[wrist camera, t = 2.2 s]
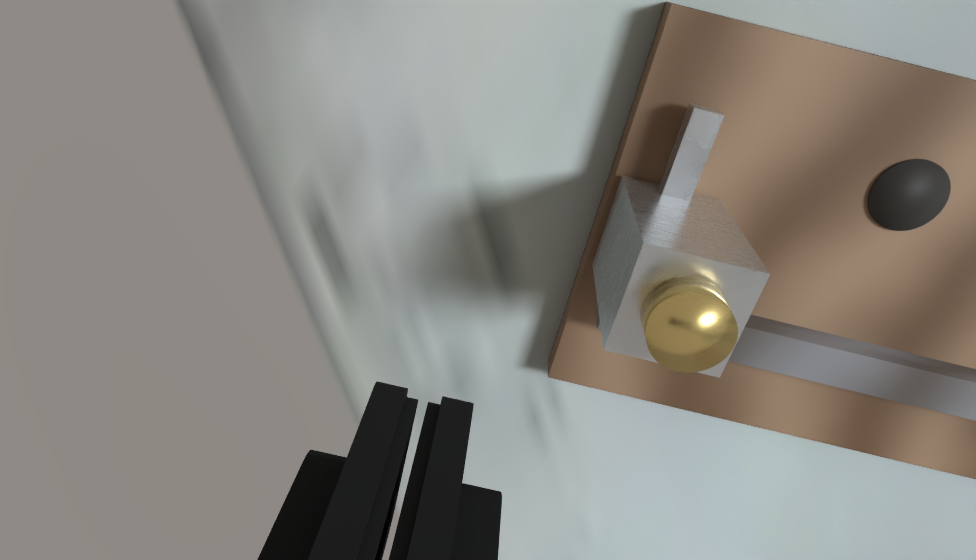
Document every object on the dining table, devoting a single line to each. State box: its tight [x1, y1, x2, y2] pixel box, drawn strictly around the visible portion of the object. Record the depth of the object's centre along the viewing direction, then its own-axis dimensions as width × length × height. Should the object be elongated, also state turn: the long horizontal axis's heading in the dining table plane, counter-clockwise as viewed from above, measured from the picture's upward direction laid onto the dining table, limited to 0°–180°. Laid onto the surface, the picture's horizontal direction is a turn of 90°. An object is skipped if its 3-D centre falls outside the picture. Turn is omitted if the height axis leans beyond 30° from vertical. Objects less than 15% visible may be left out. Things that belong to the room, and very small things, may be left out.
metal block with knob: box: [592, 103, 770, 378], centre depth 20 cm, size 4×7×7 cm, turn 168°
